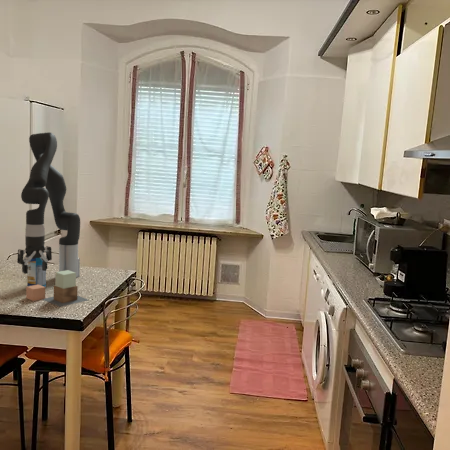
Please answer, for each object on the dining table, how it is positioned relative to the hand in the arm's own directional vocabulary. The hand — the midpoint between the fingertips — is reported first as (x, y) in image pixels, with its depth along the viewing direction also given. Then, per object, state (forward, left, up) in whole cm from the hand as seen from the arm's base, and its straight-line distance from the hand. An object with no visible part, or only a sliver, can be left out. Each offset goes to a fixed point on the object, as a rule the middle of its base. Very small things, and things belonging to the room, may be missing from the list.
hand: (34, 271), depth 198 cm
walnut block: (-8, +10, -12) cm, 18 cm away
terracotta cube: (0, 0, -12) cm, 12 cm away
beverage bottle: (-9, -15, -12) cm, 21 cm away
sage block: (-8, +10, -6) cm, 14 cm away
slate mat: (-8, +10, -12) cm, 18 cm away
